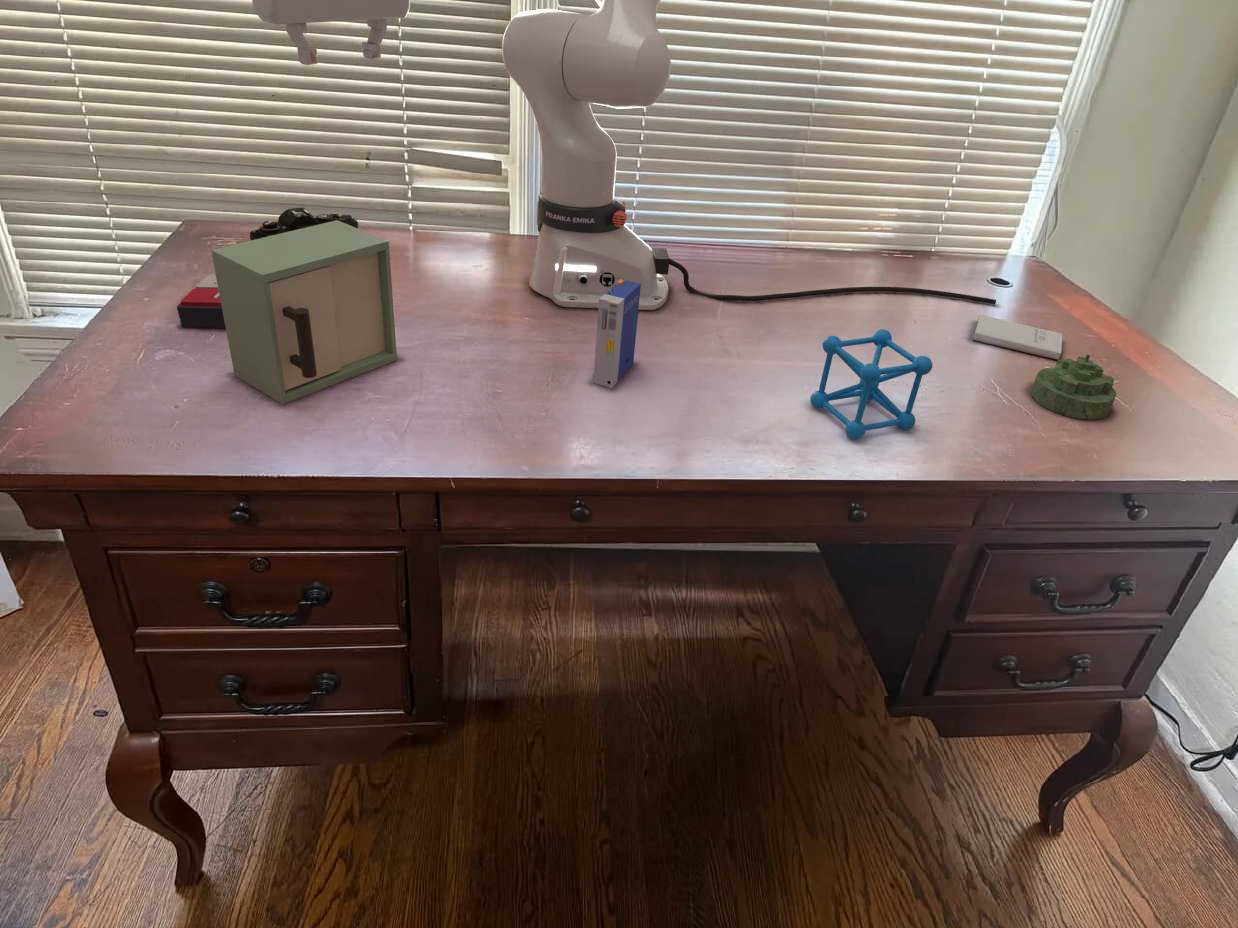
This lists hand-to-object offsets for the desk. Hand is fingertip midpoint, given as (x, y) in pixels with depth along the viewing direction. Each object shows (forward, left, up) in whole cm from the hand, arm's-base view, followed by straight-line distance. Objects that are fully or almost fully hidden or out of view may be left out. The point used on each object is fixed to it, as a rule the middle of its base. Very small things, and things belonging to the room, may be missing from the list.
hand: (341, 61), depth 107 cm
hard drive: (-98, -16, -33) cm, 105 cm away
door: (-4, +25, -32) cm, 41 cm away
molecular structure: (-70, +15, -33) cm, 79 cm away
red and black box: (+14, +6, -33) cm, 37 cm away
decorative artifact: (-100, +3, -33) cm, 105 cm away
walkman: (-38, +11, -33) cm, 52 cm away
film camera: (+14, -12, -33) cm, 38 cm away
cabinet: (-1, +19, -33) cm, 38 cm away
